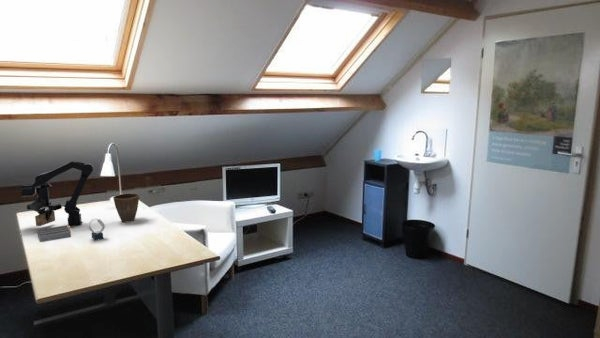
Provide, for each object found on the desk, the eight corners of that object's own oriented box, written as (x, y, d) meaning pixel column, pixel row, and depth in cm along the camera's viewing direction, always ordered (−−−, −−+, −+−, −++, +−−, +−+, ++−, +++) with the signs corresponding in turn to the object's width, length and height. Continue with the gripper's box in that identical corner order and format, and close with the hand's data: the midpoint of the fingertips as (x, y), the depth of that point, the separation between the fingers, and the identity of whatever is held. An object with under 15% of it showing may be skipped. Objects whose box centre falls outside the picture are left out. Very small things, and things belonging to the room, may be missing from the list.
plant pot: (134, 224, 250) (132, 198, 247) (110, 224, 250) (108, 198, 248) (144, 217, 265) (142, 193, 262) (121, 217, 265) (119, 193, 262)
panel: (51, 220, 249) (50, 210, 248) (55, 220, 249) (54, 211, 248) (36, 226, 237) (35, 216, 236) (39, 226, 237) (38, 216, 236)
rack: (38, 234, 230) (37, 227, 229) (68, 229, 239) (67, 223, 238) (40, 241, 218) (39, 234, 217) (72, 236, 227) (71, 229, 226)
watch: (107, 237, 224) (105, 218, 222) (91, 241, 219) (89, 221, 217) (103, 235, 228) (102, 216, 226) (88, 238, 223) (86, 219, 221)
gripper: (17, 197, 234) (20, 223, 236) (46, 198, 231) (49, 225, 233) (33, 193, 245) (35, 218, 247) (61, 194, 242) (63, 219, 244)
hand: (45, 220), depth 243 cm, fingers closed on panel, 2 cm apart
